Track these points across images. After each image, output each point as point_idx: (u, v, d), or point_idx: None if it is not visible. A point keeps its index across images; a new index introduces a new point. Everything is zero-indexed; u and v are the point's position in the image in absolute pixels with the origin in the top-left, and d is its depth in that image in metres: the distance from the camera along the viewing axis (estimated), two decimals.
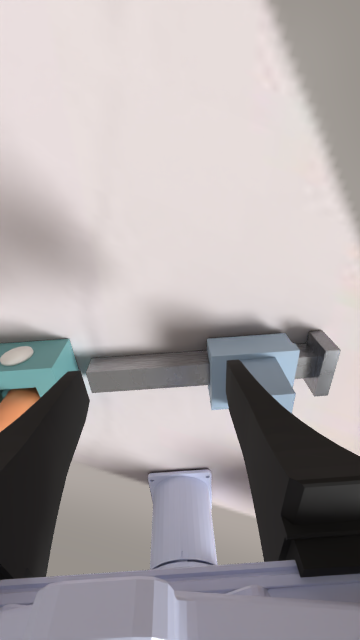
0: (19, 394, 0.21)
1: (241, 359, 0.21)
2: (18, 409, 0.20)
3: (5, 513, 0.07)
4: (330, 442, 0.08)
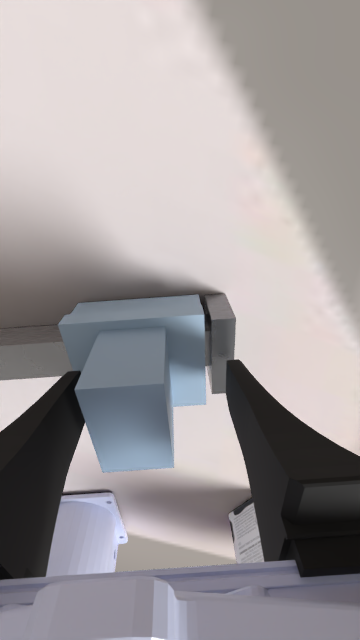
0: None
1: (109, 330, 0.13)
2: None
3: (5, 513, 0.07)
4: (330, 442, 0.08)
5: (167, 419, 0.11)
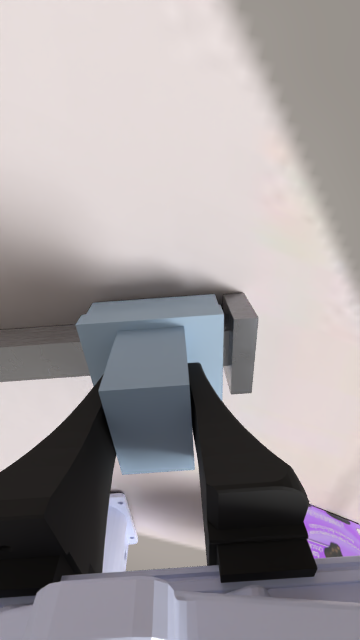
0: None
1: (127, 330, 0.13)
2: None
3: (74, 508, 0.07)
4: (261, 447, 0.08)
5: (190, 421, 0.10)
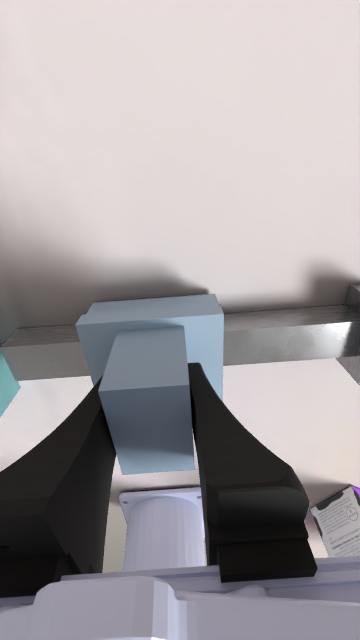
0: None
1: (127, 330, 0.13)
2: None
3: (75, 508, 0.07)
4: (261, 447, 0.08)
5: (190, 421, 0.10)
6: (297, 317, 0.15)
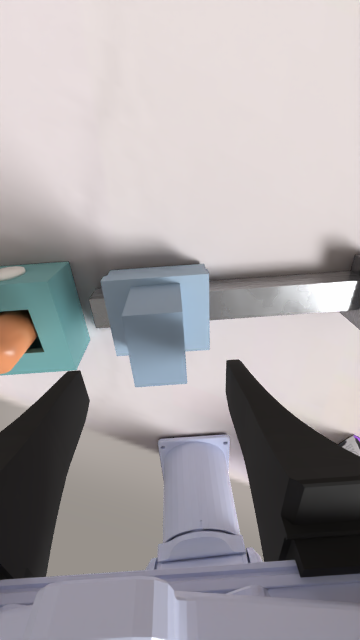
0: (7, 318, 0.17)
1: (138, 285, 0.17)
2: (6, 332, 0.16)
3: (5, 513, 0.07)
4: (330, 442, 0.08)
5: (183, 341, 0.15)
6: (314, 278, 0.20)
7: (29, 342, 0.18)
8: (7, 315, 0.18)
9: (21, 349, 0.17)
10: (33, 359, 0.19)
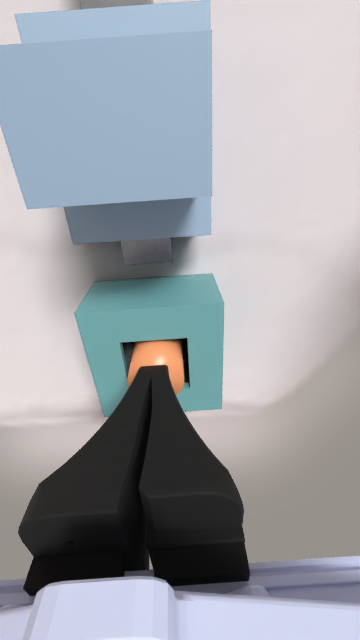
0: (133, 349, 0.15)
1: None
2: (134, 356, 0.14)
3: (132, 504, 0.07)
4: (205, 451, 0.08)
5: (65, 43, 0.06)
6: None
7: None
8: (133, 349, 0.15)
9: (158, 348, 0.13)
10: (199, 352, 0.14)
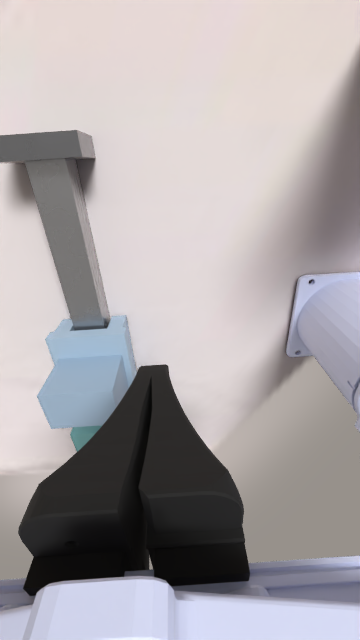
0: None
1: None
2: None
3: (132, 504, 0.07)
4: (205, 451, 0.08)
5: (65, 394, 0.18)
6: None
7: None
8: None
9: None
10: None
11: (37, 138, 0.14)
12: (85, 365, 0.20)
